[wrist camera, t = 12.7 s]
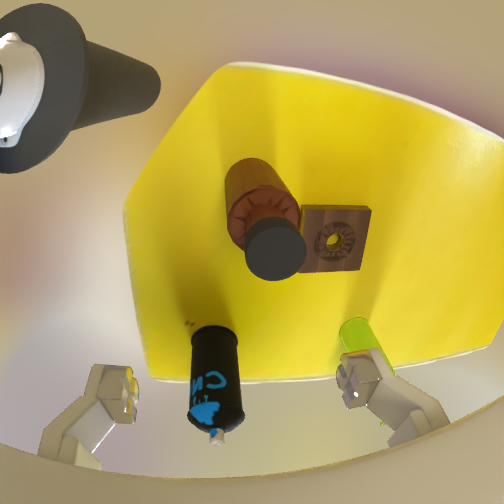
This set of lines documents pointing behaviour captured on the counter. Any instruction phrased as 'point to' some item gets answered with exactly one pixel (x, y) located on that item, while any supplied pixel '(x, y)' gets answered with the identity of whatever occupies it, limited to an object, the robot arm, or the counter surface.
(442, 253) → the counter surface
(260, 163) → the bottle
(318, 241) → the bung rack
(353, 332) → the soap dispenser
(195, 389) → the aerosol can
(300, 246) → the cylinder
